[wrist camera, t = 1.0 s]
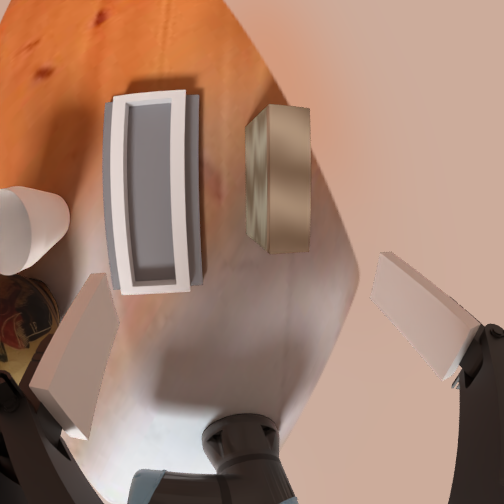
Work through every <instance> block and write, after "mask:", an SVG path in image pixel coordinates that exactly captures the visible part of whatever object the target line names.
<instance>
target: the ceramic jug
mask: <svg viewBox="0 0 504 504" xmlns="http://www.w3.org/2000/svg"><path fill="white" fill-rule="evenodd" d="M59 323H60V319H59V312H58V306H57V303H56V301H55V300H54V298H53V296H52V294H51V292H50V291H49V289H48V288H47V286H46V285H45V284H44V283H43V282H42V281H39V280H36V279H30V278H29V279H27V278H26V277H23V276H21V275H17V274H13V275H3V274H0V370H6V371H7V372H9V373H10V374H11V376H12V377H13V379H14V380H15V381H16V383H17V384H18V385H19V383H20V381H21V379H22V377H23V375H24V373H25V371H26V369H27V367H28V365H29V363H30V361H32V360H31V359H32V357H33V355H34V353H36V352H35V351H36V349H37V347H38V346H39V344H40V342H41V341H42V340H43V339H44V338H45V337H46V336H47V335H48V334H55V332H56V330H57V328H58V327H59Z"/></svg>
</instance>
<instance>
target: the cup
mask: <svg viewBox="0 0 504 504" xmlns="http://www.w3.org/2000/svg"><path fill="white" fill-rule="evenodd" d="M69 223H70V213H69V209H68V206H67V204H66V202H65V201H64V199H63V198H62V197H60V196H59V195H57V194H54V193H49V192H45V191H41V190H36V189H32V188H27V187H22V186H13V187H9V188H4V189H0V274H3V275H13V274H16V273H18V272H20V271H22V270H24V269H26V268H29V267H31V266H32V265H34V264H35V263H36V262H37V261H38V260H39V259H40V258H41V257H42V256H43V255H44V254H45V253H46V252H47V251H48V250H49V249H51V248H52V247H53V246H54V245H55V244H56V243H57V242H58V241H59V240H60V239H61V238H62V237H63V236H64V235H65V234H66V232H67V230H68V227H69Z"/></svg>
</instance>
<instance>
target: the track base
mask: <svg viewBox="0 0 504 504" xmlns="http://www.w3.org/2000/svg"><path fill="white" fill-rule="evenodd" d="M198 139H199V95H186V90H169V91H155V92H144V93H135V94H127V95H120V96H114V97H113V102H108V103H105V113H104V129H103V201H104V217H105V229H106V239H107V248H108V257H109V264H110V271H111V278H112V284H113V290H120V289H121V294H122V295H136V294H156V293H174V292H190V286H193V285H203V276H202V260H201V240H200V214H199V164H198Z"/></svg>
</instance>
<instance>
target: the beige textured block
mask: <svg viewBox="0 0 504 504" xmlns="http://www.w3.org/2000/svg"><path fill="white" fill-rule="evenodd" d="M245 162H246V234H247V235H248V236H249V237H250V238H252V239H253V240H254V241H255V242H256V243H257V244H259V245H260V246H261V247H262V248H263V249H264V250H266V251H267V252H268V253H269V254H281V253H296V252H309V245H310V213H311V137H310V109H309V108H303V107H295V106H286V105H275V104H269V105H268V106H267V107H266V108H265V109H263V110H262V111H261V112H260V113H259V114H258V115H257V116H256V117H255V118H254V119H253V120H252V121H251V122H250V123H249V124H248V125H247V126H246V127H245Z"/></svg>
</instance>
